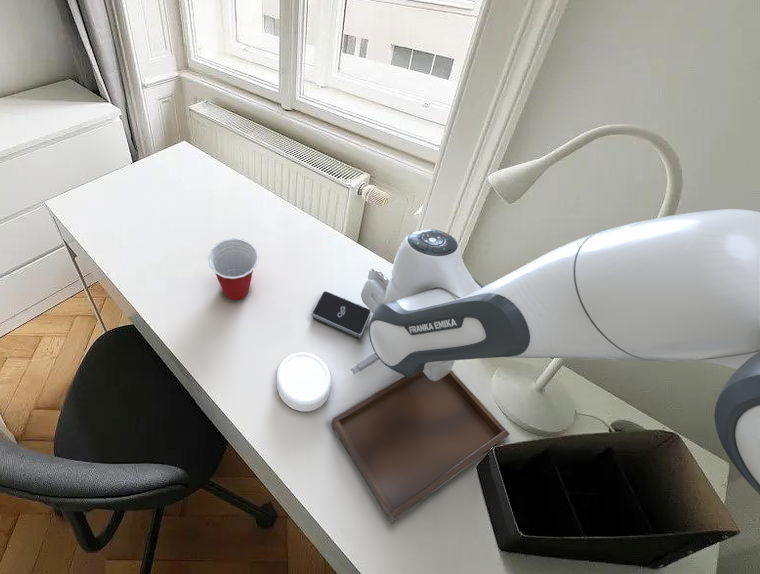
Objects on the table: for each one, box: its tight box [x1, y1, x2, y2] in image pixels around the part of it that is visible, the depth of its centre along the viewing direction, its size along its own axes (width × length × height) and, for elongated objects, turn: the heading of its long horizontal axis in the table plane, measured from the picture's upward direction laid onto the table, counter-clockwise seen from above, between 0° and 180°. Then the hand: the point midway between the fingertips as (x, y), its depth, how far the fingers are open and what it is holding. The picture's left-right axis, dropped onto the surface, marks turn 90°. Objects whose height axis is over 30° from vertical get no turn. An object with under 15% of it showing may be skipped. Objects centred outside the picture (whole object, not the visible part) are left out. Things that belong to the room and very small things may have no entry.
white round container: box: [276, 352, 332, 413], centre depth 76 cm, size 10×10×4 cm
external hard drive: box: [311, 290, 372, 339], centre depth 88 cm, size 7×11×2 cm, turn 60°
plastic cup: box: [207, 237, 260, 301], centre depth 90 cm, size 11×11×12 cm
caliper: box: [350, 352, 380, 375], centre depth 78 cm, size 20×1×6 cm, turn 117°
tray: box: [330, 369, 510, 524], centre depth 69 cm, size 16×25×2 cm, turn 117°
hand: (395, 347), depth 79 cm, fingers closed on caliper, 1 cm apart
